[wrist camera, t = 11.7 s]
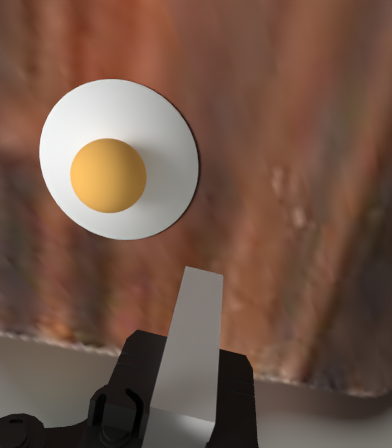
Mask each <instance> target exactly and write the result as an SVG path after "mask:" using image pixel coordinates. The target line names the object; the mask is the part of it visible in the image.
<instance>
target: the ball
mask: <svg viewBox="0 0 392 448" xmlns="http://www.w3.org/2000/svg"><path fill="white" fill-rule="evenodd" d="M70 179H71V184H72V187H73V190H74V192H75V194H76V195H77V197H78V198H79V200H80V201H81V202H82V203H84V204H85V205H86V206H87V207H89V208H91V209H93V210H95V211H98V212H102V213H117V212H121V211H124V210H126V209H128V208H130V207H131V206H133V205H134V204H135V203H136V202H137V201H138V200H139V198H140V197H141V196H142V194H143V192H144V189H145V186H146V180H147V174H146V168H145V164H144V162H143V160H142V158H141V156H140V155H139V154H138V152H137V151H136V150H135V149H134V148H133V147H131V146H130V145H129V144H127V143H125V142H123V141H120V140H117V139H111V138H103V139H98V140H94V141H92V142H90V143H88V144H86V145H85V146H83V147H82V148H81V149H80V150H79V151H78V153H77V154H76V156H75V157H74V159H73V162H72V165H71V169H70Z"/></svg>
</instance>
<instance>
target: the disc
mask: <svg viewBox="0 0 392 448" xmlns="http://www.w3.org/2000/svg"><path fill="white" fill-rule="evenodd" d="M103 138H111V139H117V140H120V141H123V142H125V143H127V144H129V145H130V146H131V147H133V148H134V149H135V150H136V151H137V152H138V154H139V155H140V156H141V158H142V160H143V162H144V164H145V168H146V174H147V180H146V186H145V189H144V192H143V194H142V196H141V197H140V198H139V200H138V201H137V202H136V203H135V204H134V205H133V206H131V207H130V208H128V209H126V210H124V211H121V212H117V213H102V212H98V211H95V210H93V209H91V208H89V207H87V206H86V205H85V204H84V203H82V202H81V201H80V200H79V198H78V197H77V195H76V194H75V192H74V190H73V187H72V184H71V179H70V169H71V165H72V162H73V159H74V157H75V156H76V154H77V153H78V151H79V150H80V149H81V148H82V147H83V146H85V145H86V144H88V143H90V142H92V141H94V140H98V139H103ZM40 163H41V169H42V173H43V177H44V180H45V182H46V185H47V187H48V189H49V191H50V193H51V195H52V197H53V198H54V200H55V201H56V202H57V204H58V205H59V206H60V208H61V209H62V210H63V211H64V212H65V213H66V214H67V215H68V216H69V217H70V218H71V219H72V220H74V221H75V222H76V223H78V224H79V225H80V226H82V227H84V228H85V229H87V230H89V231H91V232H93V233H96V234H98V235H101V236H104V237H107V238H113V239H120V240H133V239H141V238H146V237H149V236H152V235H155V234H157V233H159V232H161V231H163V230H164V229H166V228H167V227H169V226H171V225H172V224H173V223H174V222H175V221H176V220H177V219H178V218H179V217H180V216H181V215H182V214H183V212H184V211H185V210H186V208H187V206H188V205H189V203H190V201H191V199H192V197H193V194H194V191H195V188H196V185H197V179H198V155H197V150H196V145H195V142H194V139H193V136H192V134H191V131H190V129H189V128H188V126H187V124H186V122H185V121H184V119H183V118H182V116H181V115H180V113H179V112H178V111H177V110H176V109H175V108H174V107H173V106H172V104H171V103H169V102H168V101H167V100H166V99H165V98H163V97H162V96H161V95H159V94H158V93H156V92H155V91H153V90H151V89H149V88H147V87H145V86H143V85H140V84H137V83H134V82H131V81H125V80H116V79H106V80H97V81H93V82H90V83H86V84H84V85H81V86H79V87H77V88H75V89H74V90H72V91H71V92H69V93H67V94H66V95H65V96H64V97H63V98H62V99H61V100H60V101H59V102H58V103H57V104H56V105H55V107H54V108H53V109H52V111H51V112H50V114H49V116H48V118H47V120H46V122H45V125H44V127H43V131H42V135H41V140H40Z"/></svg>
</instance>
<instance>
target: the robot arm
mask: <svg viewBox="0 0 392 448" xmlns="http://www.w3.org/2000/svg"><path fill="white" fill-rule="evenodd" d="M222 291H223V275H220V274H216V273H212V272H208V271H204V270H200V269H196V268H192V267H188V266H186V268H185V272H184V275H183V279H182V283H181V287H180V291H179V295H178V299H177V303H176V306H175V310H174V314H173V318H172V322H171V326H170V330H169V334H168V337H165V336H161V335H157V334H153V333H149V332H145V331H141V330H136V331H135V332H134V333H133V334H132V335H131V336H129V337H128V338H127V339H126V342H125V344H124V347H123V349H122V352H121V354H120V356H119V359H118V361H117V364H116V366H115V368H114V371H113V373H112V376H111V378H110V380H109V383H108V384H107V385H105V386H104V387H102V388H100V389H99V390H97V391H96V392H95V394H94V395H93V397H92V398H91V399H90V405H89V412H88V418H87V419H86V420H84V421H83V422H81V423H78V424H76V425H72V426H67V427H57V428H56V427H55V428H44V426H43V423H42V422H41V421H39V420H38V419H37V418H36V417H35V416H31V415H28V414H24V413H23V414H11V415H8V416H5V417H2V418H0V448H259V447H258V441H257V426H256V411H255V398H254V395H255V394H254V386H253V384H254V379H253V368H252V366H251V365H250V363H249V361H248V359H247V357H246V355H242V354H238V353H234V352H230V351H226V350H222V349H219V346H220V328H221V309H222Z"/></svg>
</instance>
